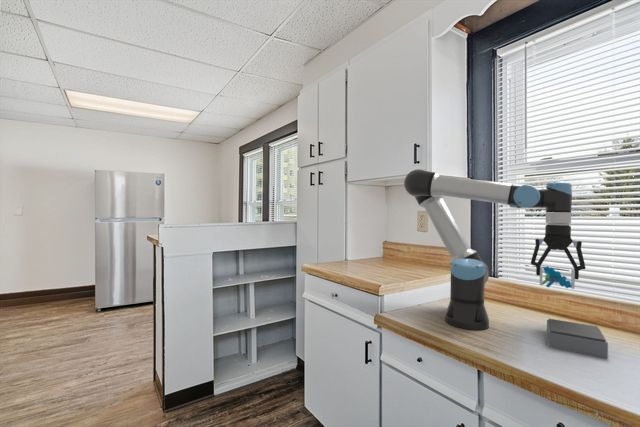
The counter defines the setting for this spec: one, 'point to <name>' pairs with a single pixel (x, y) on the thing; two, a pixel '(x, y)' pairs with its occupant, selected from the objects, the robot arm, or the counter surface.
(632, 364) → the counter surface
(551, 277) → the teal branching figurine
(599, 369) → the counter surface
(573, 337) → the stand
